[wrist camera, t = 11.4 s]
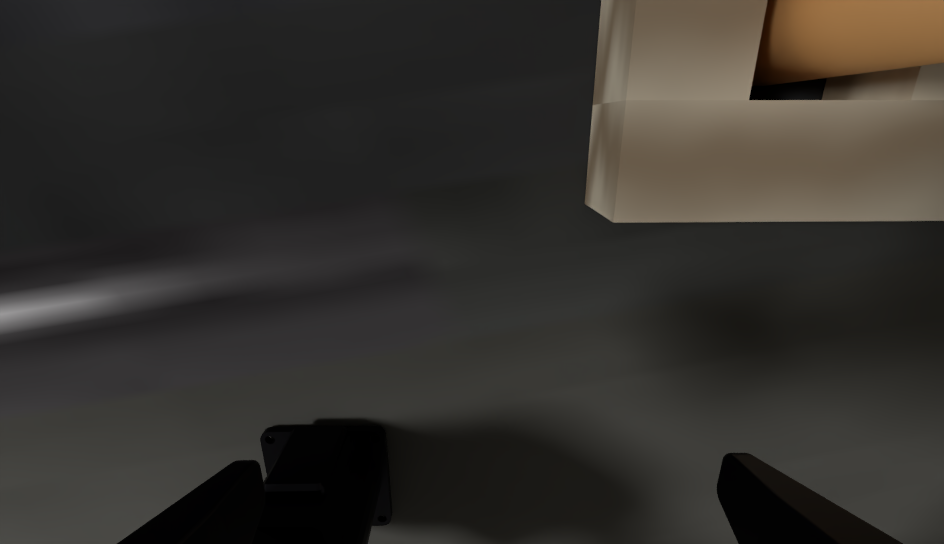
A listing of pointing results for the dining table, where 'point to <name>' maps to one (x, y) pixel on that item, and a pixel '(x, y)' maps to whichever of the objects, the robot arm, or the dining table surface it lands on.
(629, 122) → the socket block
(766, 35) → the peg
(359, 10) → the dining table surface
